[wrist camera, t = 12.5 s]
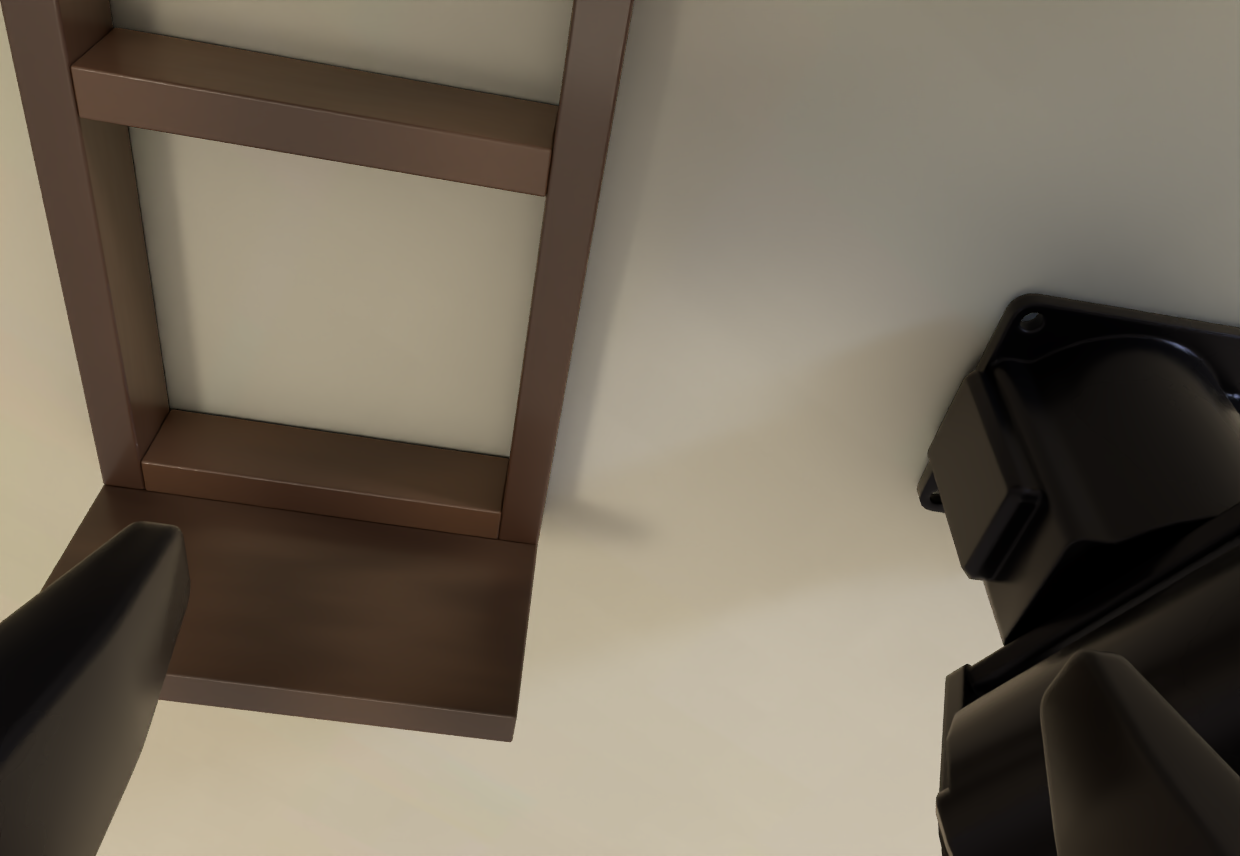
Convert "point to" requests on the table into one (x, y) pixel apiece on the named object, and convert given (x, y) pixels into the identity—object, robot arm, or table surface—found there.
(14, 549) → the table surface
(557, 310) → the cup stand
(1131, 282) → the table surface
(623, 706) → the table surface
